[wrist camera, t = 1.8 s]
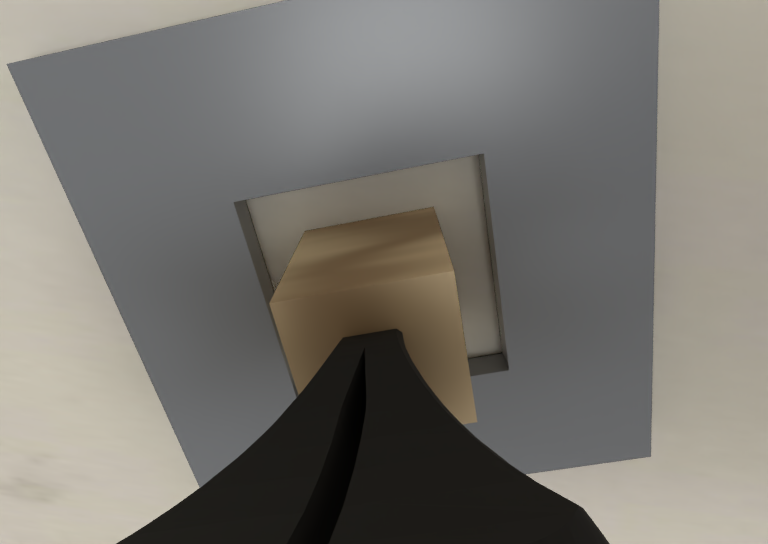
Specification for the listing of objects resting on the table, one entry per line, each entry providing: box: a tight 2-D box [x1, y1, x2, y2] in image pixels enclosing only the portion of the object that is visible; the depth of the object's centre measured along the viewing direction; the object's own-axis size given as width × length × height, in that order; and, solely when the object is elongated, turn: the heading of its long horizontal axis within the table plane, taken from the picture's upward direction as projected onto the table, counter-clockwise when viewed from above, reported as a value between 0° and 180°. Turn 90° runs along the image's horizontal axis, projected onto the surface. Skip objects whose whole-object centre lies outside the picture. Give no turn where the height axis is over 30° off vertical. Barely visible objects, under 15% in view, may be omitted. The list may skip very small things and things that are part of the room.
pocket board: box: [7, 0, 659, 488], centre depth 15 cm, size 16×16×1 cm
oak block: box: [269, 207, 477, 424], centre depth 13 cm, size 4×4×5 cm
